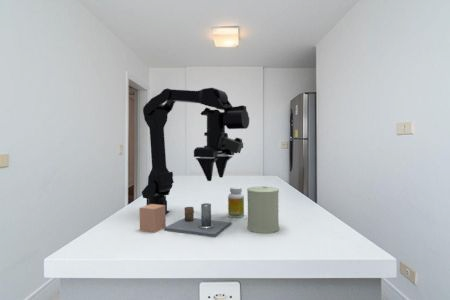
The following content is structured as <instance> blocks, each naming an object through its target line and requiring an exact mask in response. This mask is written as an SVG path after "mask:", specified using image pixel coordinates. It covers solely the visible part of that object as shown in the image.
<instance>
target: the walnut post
mask: <svg viewBox="0 0 450 300" xmlns="http://www.w3.org/2000/svg"><path fill="white" fill-rule="evenodd" d="M184 218H185V221H186V222H191V221H194V218H195V215H194V207H193V206H185V207H184Z"/></svg>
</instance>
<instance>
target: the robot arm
mask: <svg viewBox="0 0 450 300" xmlns="http://www.w3.org/2000/svg"><path fill="white" fill-rule="evenodd" d="M176 102H180V103H181V102H182V103H193V104H200V105H204V106H206V107H205V108H204V109H203V111H201V112H200V115H201V116H206V132H204V133H203V136H204V137H205V136H206V145H204V146H202V147H200V146H198V147H197V146H196V147H195V148H194V149H193V157H194V158H195V160H196V161H197V162H198V163H199V166H200V167H201V170H202V172H203V174H204V176H205V178H206V181H208V182H211V181H212V179H213V173H214V164H215V167H216V170H217V174H218V177H219V178H223V177H224V175H225V171H226V167H227V164H228V162H229V161H230V160H231V159H232V158H233V157H234V156H235V154H241V151H242V149H243V148H244V143H243V138H239V137H236V138H234V139H233V138H229V134H228V133H227V132H226V128H227V129H228V130H239V129H240V130H244V129H248V128H249V125H250V117H249V113H248V110H247V106H246V105H238V106H233V105H232V104H231V102H230V101H229V97H228V94H227V93H226V92H225V91H223V90H221V89H218V88H216V87H207V88H202V89H200V90H187V89H171V88H164V89H163V90H162V91H161V92H160V93H159V94H156V96H153V97H152V98H151V99H150V100H149V101H147V103H145V105H144V106H143V108H142V114H143V117H144V118H143V119H144V122H145V123H146V125H147V127H148V128H149V142H150V143H149V144H150V156H151V170H150V171H149V174H148V177H147V184H146V186H145V187H144V188H143V190H142V191H141V195H142V198H143V199H146V205H149V204H157V205H165V214H167V213H169V212H170V211H169V210H168V200H167V196H169V195H170V192H171V189H172V188H173V184H174V183H175V181H174V178H173V177H174V173H173V171H169V169H168V168H167V159H166V143H165V141H166V140H165V126H166V124H167V122H168V114H169V113H170V112H171V111H172V110H173V107H174V105H175V104H176ZM209 107H210V108H209ZM211 108H215V109H211ZM220 110H221V111H220Z"/></svg>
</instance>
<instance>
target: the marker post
mask: <svg viewBox="0 0 450 300" xmlns="http://www.w3.org/2000/svg"><path fill="white" fill-rule="evenodd" d="M200 209H201V210H200V213H201V215H200V216H201V218H200V219H201V224H200V225H199V228H200V229H211V228H213V227H214V225H213V224H211V220H212V203H207V202H205V203H201V208H200Z"/></svg>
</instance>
